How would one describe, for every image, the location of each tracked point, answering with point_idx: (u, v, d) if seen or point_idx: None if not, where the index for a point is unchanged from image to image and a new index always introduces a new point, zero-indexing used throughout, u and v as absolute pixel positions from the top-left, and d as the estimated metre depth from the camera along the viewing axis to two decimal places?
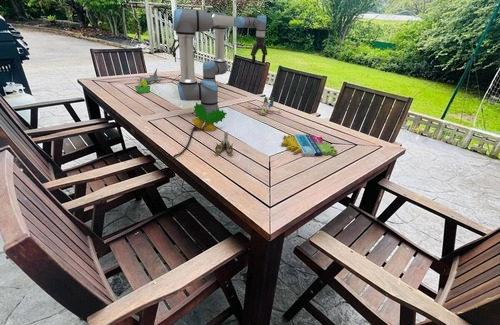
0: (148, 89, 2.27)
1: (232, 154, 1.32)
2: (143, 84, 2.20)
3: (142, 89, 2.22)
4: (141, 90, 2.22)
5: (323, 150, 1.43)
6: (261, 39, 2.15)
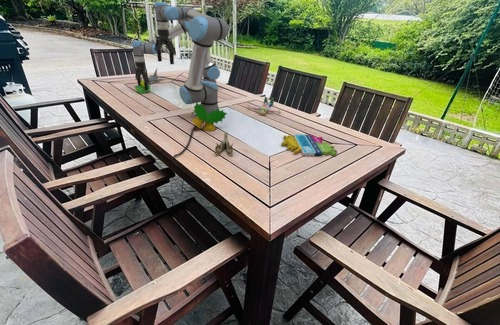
0: (148, 89, 2.27)
1: (232, 154, 1.32)
2: (143, 84, 2.20)
3: (142, 89, 2.22)
4: (141, 90, 2.22)
5: (323, 150, 1.43)
6: (135, 63, 2.15)
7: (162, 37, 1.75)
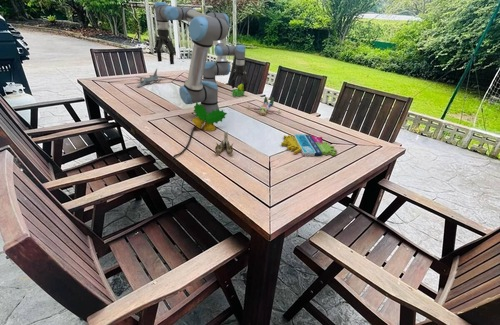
0: (243, 93, 2.37)
1: (232, 154, 1.32)
2: (241, 88, 2.30)
3: (239, 93, 2.32)
4: (238, 94, 2.32)
5: (323, 150, 1.43)
6: None
7: (162, 37, 1.75)
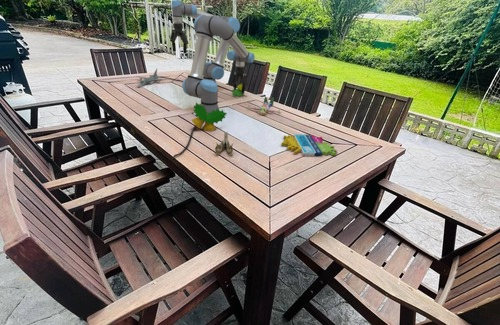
0: None
1: (232, 154, 1.32)
2: (241, 88, 2.30)
3: (239, 93, 2.32)
4: (238, 93, 2.32)
5: (323, 150, 1.43)
6: (173, 25, 2.05)
7: (239, 72, 2.26)
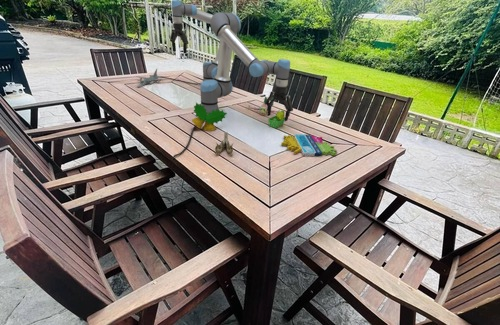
0: (282, 122, 1.76)
1: (232, 154, 1.32)
2: (281, 116, 1.70)
3: (278, 123, 1.72)
4: (277, 124, 1.71)
5: (323, 150, 1.43)
6: (173, 25, 2.05)
7: (279, 94, 1.65)
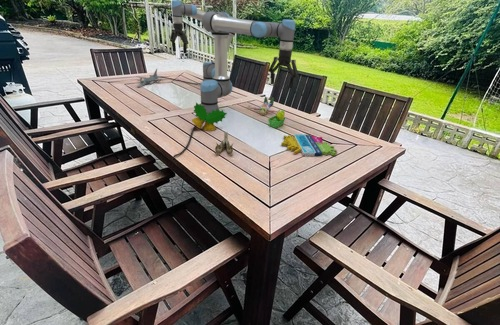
0: (282, 122, 1.76)
1: (232, 154, 1.32)
2: (281, 116, 1.70)
3: (278, 123, 1.72)
4: (277, 124, 1.71)
5: (323, 150, 1.43)
6: (173, 25, 2.05)
7: (284, 58, 1.55)
